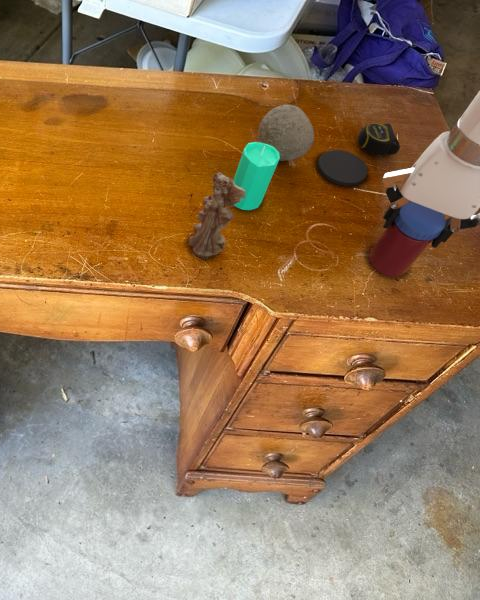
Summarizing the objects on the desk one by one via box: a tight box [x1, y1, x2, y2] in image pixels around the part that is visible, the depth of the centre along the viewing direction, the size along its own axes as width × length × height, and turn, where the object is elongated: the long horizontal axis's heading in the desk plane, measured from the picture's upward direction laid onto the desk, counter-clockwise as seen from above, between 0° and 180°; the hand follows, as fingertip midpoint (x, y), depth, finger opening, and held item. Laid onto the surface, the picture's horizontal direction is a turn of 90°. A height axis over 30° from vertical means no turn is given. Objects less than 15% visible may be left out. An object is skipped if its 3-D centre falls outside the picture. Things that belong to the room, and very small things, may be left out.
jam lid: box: [394, 201, 447, 241], centre depth 87 cm, size 7×7×2 cm
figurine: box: [188, 171, 246, 259], centre depth 90 cm, size 7×6×15 cm
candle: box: [233, 141, 280, 211], centre depth 98 cm, size 6×6×12 cm
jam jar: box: [368, 219, 433, 278], centre depth 91 cm, size 6×6×10 cm
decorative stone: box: [257, 103, 315, 162], centre depth 106 cm, size 10×8×10 cm
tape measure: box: [357, 122, 401, 157], centre depth 110 cm, size 7×7×4 cm
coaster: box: [317, 149, 368, 187], centre depth 108 cm, size 9×9×1 cm
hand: (411, 231), depth 89 cm, fingers closed on jam lid, 6 cm apart
